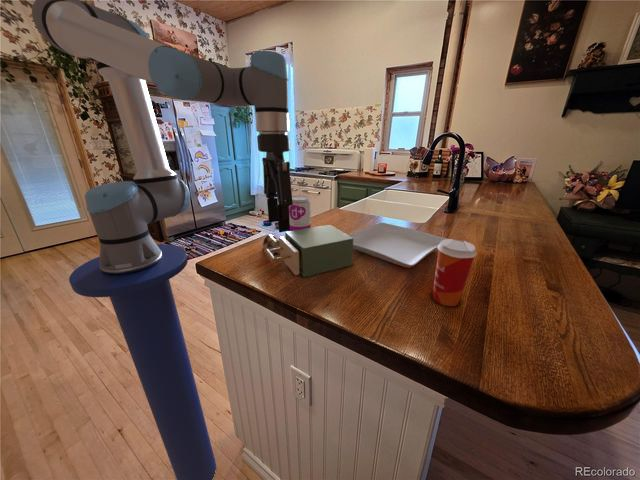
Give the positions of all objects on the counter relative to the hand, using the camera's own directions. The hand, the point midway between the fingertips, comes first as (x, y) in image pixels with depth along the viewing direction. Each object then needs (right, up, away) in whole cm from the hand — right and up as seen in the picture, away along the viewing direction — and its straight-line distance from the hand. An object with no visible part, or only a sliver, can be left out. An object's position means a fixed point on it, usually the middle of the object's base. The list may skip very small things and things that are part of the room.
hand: (278, 225), depth 68 cm
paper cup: (+41, -18, -8) cm, 45 cm away
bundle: (-5, -7, +17) cm, 19 cm away
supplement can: (+3, -3, +29) cm, 29 cm away
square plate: (+36, -7, +19) cm, 41 cm away
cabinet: (+10, -10, +10) cm, 18 cm away
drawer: (+6, -10, +7) cm, 14 cm away
